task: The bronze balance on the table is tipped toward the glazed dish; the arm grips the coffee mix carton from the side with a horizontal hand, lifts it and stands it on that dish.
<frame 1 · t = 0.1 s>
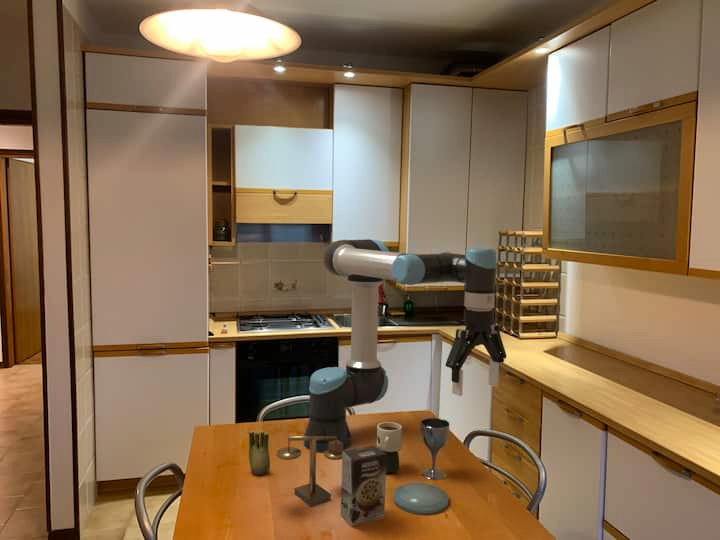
hand: (475, 390, 145), 28 cm above the table, tool pointing down, fingers open, 13 cm apart
character mug: (388, 470, 160), on the table
dish: (420, 500, 143), on the table
coffee box: (362, 517, 135), on the table
wine glass: (433, 474, 158), on the table
balance: (312, 496, 144), on the table
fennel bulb: (259, 473, 157), on the table
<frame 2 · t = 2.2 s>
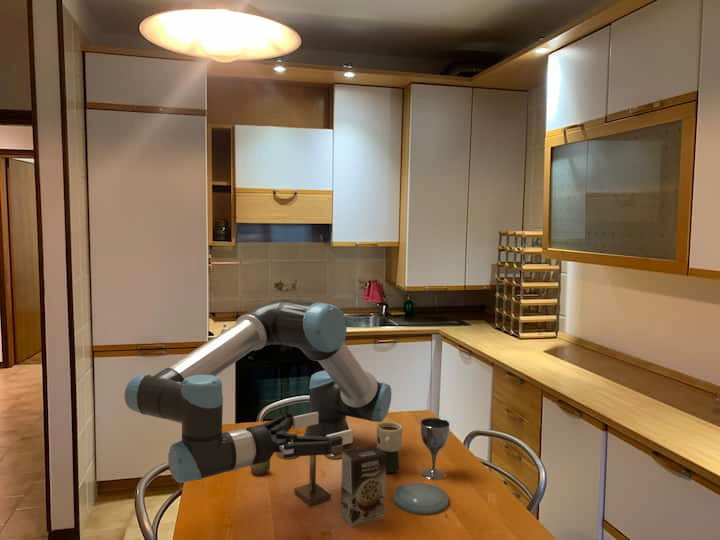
hand: (334, 426, 127), 24 cm above the table, tool horizontal, fingers open, 13 cm apart
nothing on the table moved.
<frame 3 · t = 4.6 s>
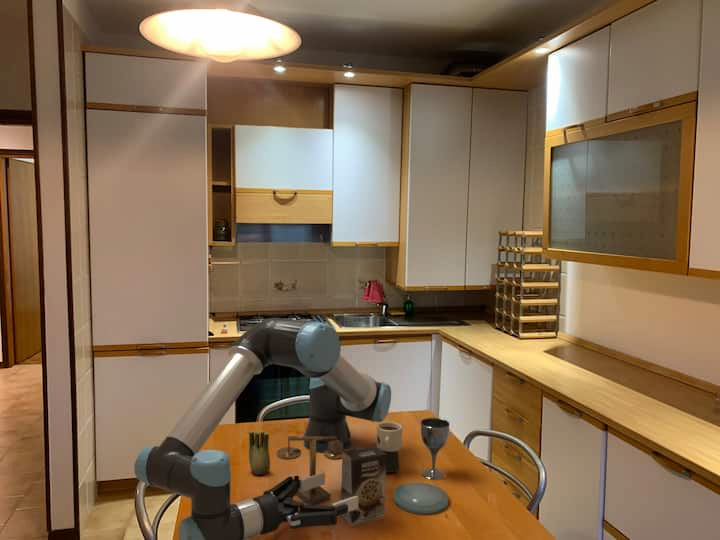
hand: (340, 489, 130), 9 cm above the table, tool horizontal, fingers open, 13 cm apart
nothing on the table moved.
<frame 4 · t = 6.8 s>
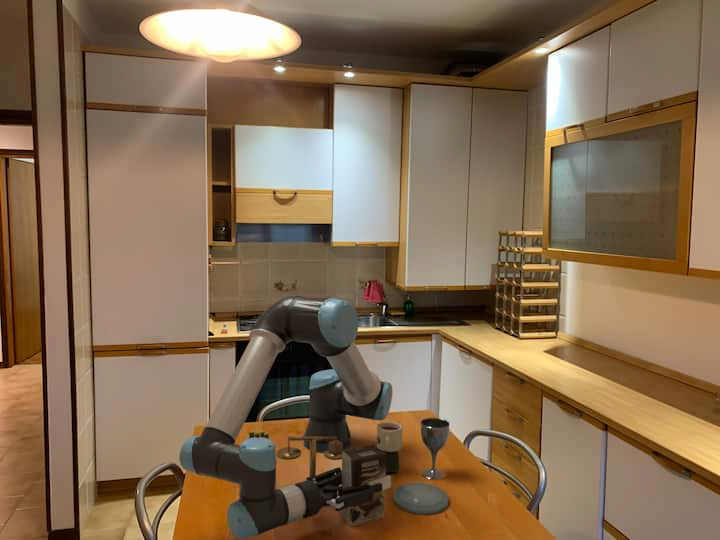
hand: (379, 475, 137), 9 cm above the table, tool horizontal, fingers closed on coffee box, 7 cm apart
coffee box: (362, 517, 135), on the table, touching gripper
everything else where it was.
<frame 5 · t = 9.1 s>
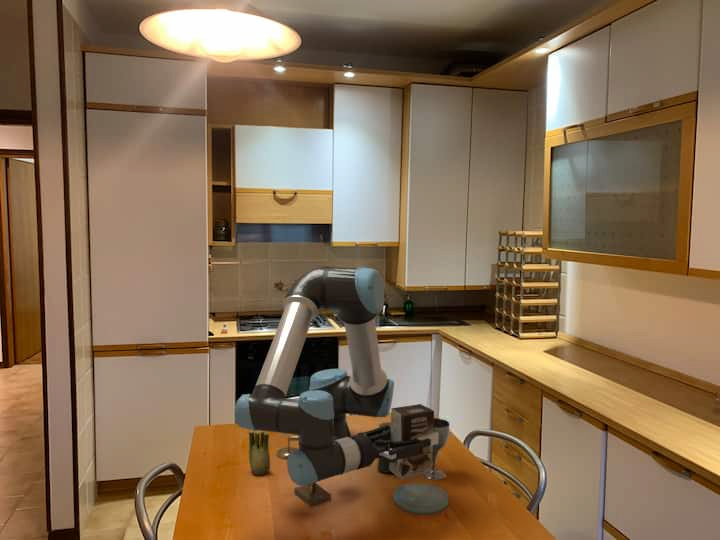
hand: (426, 432, 142), 18 cm above the table, tool horizontal, fingers closed on coffee box, 7 cm apart
coffee box: (410, 472, 140), point 8 cm above the table, touching gripper
everything else where it was.
when the fingers open (11 cm above the table, at t = 11.0 s): coffee box drops 1 cm, resting on dish.
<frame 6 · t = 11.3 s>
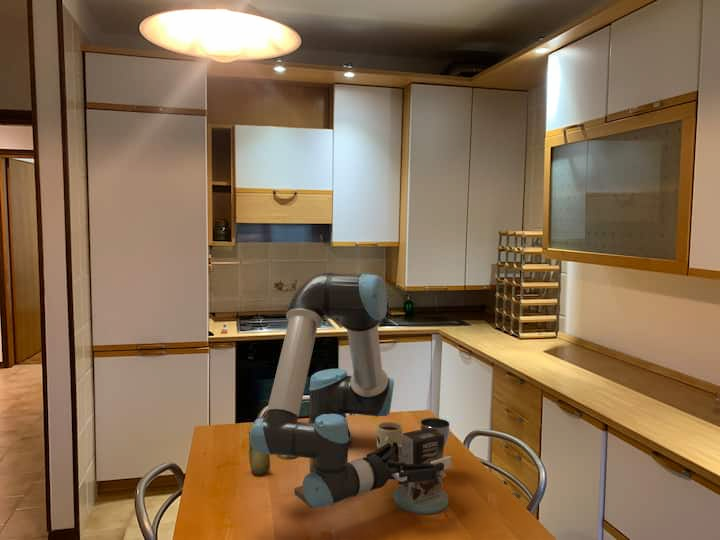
hand: (433, 453, 145), 11 cm above the table, tool horizontal, fingers open, 11 cm apart
coffee box: (420, 495, 143), point 1 cm above the table, touching dish
everything else where it was.
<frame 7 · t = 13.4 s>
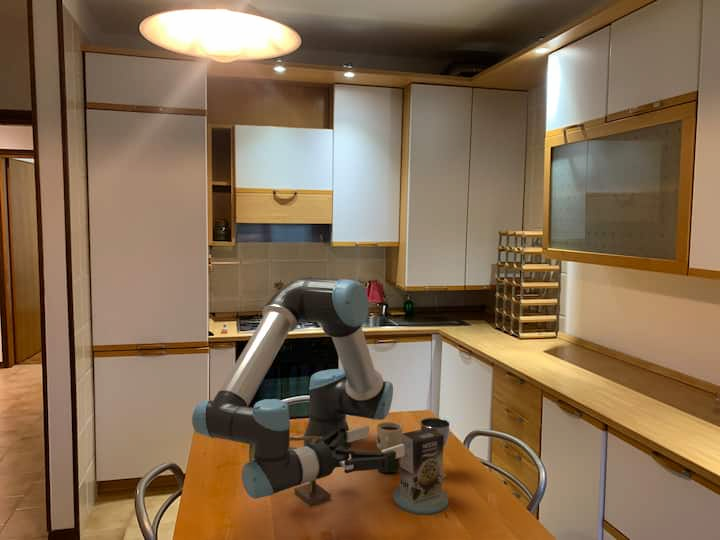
hand: (385, 439, 137), 18 cm above the table, tool horizontal, fingers open, 13 cm apart
nothing on the table moved.
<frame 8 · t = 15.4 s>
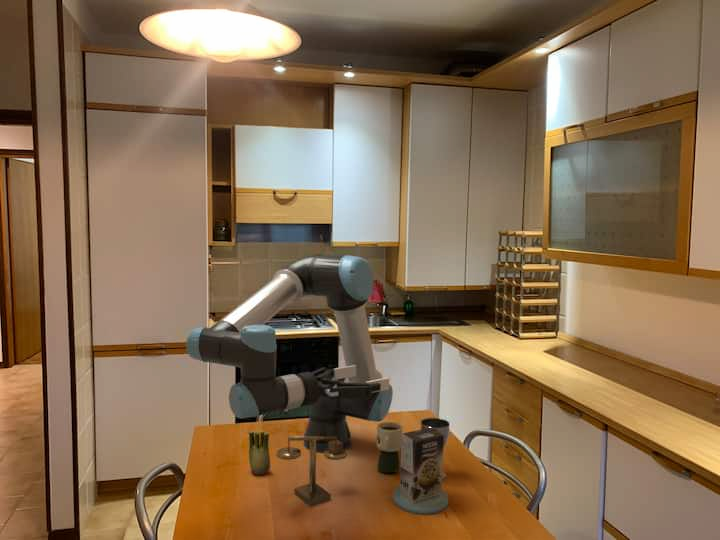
hand: (371, 376, 141), 32 cm above the table, tool horizontal, fingers open, 13 cm apart
nothing on the table moved.
at the end: coffee box 0.1 cm from the dish (horizontally); coffee box tilted 0°; the gripper is holding nothing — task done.
